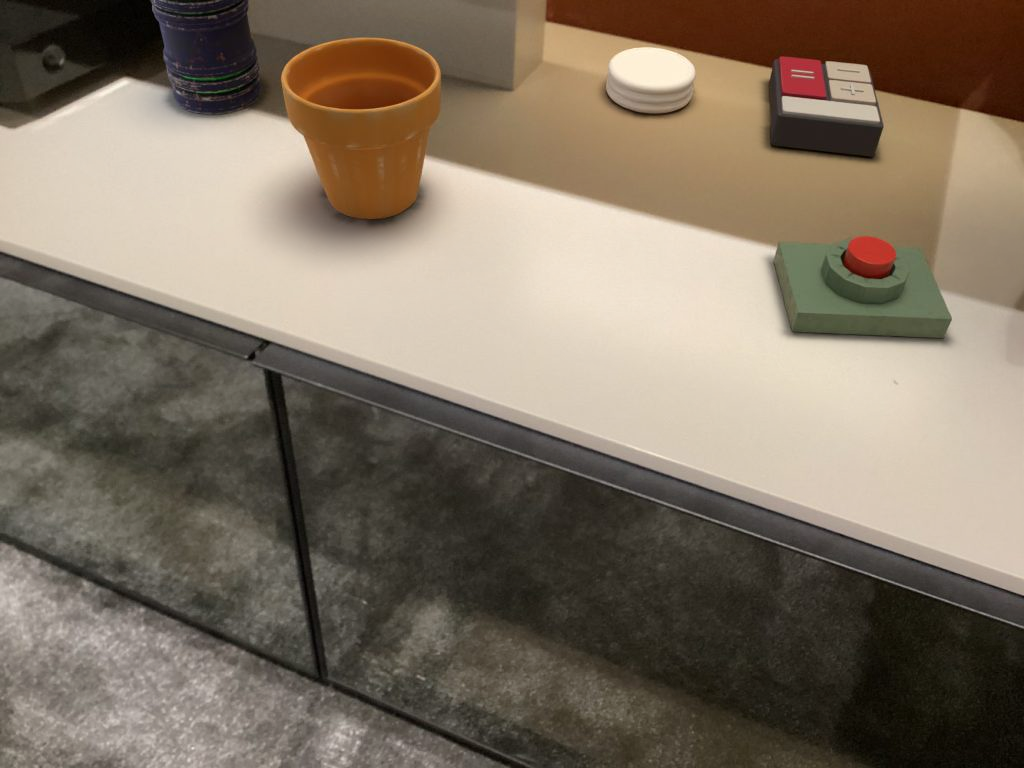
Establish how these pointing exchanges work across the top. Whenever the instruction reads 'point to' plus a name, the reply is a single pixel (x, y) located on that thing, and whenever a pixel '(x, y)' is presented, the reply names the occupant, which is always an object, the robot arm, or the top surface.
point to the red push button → (869, 257)
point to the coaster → (650, 80)
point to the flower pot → (365, 119)
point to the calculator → (824, 106)
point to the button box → (859, 293)
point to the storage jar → (209, 54)
